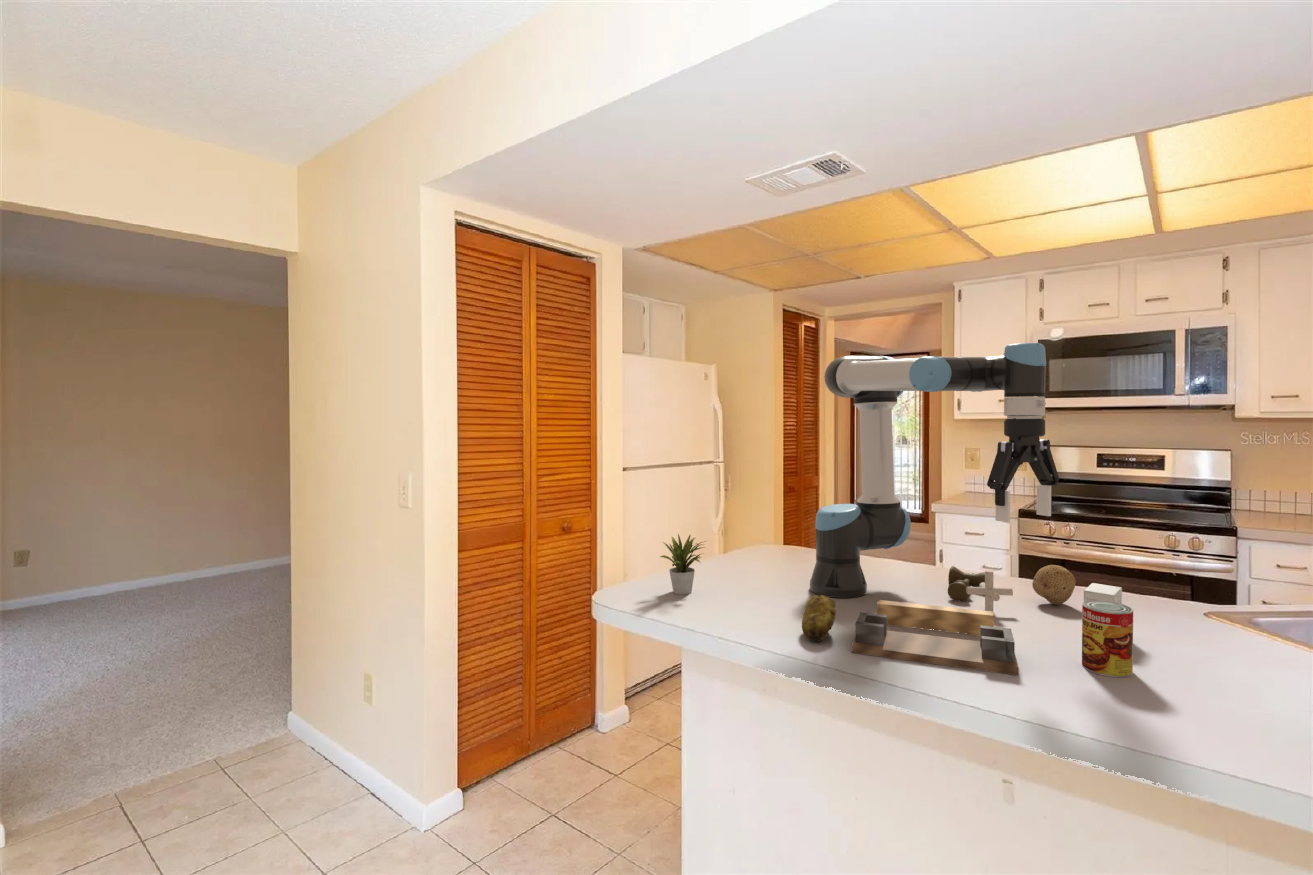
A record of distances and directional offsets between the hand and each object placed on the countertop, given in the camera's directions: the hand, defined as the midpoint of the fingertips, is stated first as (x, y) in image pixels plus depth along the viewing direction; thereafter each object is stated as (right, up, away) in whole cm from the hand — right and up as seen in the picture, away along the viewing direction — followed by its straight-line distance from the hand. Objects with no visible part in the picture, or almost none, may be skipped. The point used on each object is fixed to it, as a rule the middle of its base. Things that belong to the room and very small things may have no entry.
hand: (1023, 518), depth 135 cm
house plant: (-70, -26, +42) cm, 86 cm away
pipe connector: (+4, -26, +21) cm, 33 cm away
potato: (-41, -27, +8) cm, 50 cm away
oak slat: (-14, -27, +10) cm, 32 cm away
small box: (+19, -26, +3) cm, 32 cm away
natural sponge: (+22, -25, +26) cm, 42 cm away
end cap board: (-21, -27, -4) cm, 35 cm away
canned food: (+8, -27, -14) cm, 31 cm away
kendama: (+6, -25, +38) cm, 46 cm away
